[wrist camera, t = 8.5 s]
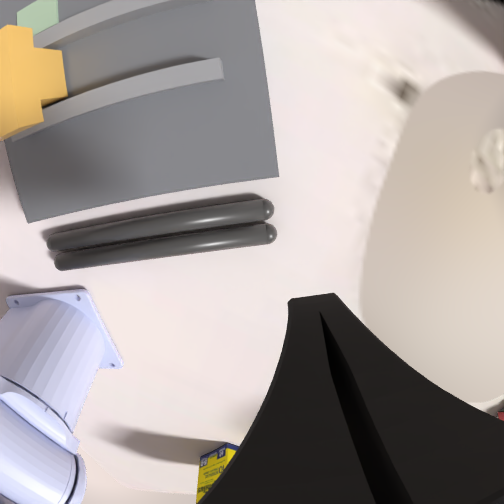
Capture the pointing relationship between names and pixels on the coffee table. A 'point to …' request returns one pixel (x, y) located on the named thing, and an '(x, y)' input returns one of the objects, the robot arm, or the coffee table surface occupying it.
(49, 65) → the toggle knob
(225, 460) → the supplement box
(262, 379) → the coffee table surface
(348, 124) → the coffee table surface
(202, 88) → the panel
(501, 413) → the geometric puzzle
